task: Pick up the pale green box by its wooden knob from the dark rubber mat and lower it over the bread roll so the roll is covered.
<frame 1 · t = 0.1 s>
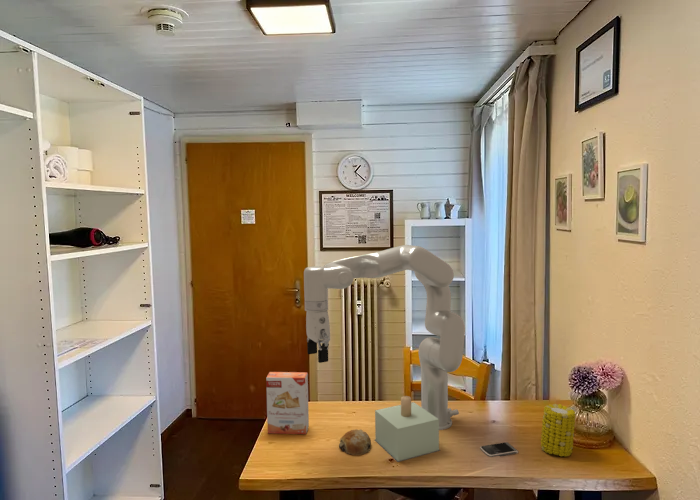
hand: (317, 357, 153), 31 cm above the table, fingers open, 9 cm apart
food: (557, 451, 153), on the table
mat: (406, 446, 157), on the table
cracker box: (288, 431, 170), on the table
bread roll: (355, 449, 156), on the table
cell phone: (498, 453, 153), on the table
pale green box: (406, 444, 157), resting on mat
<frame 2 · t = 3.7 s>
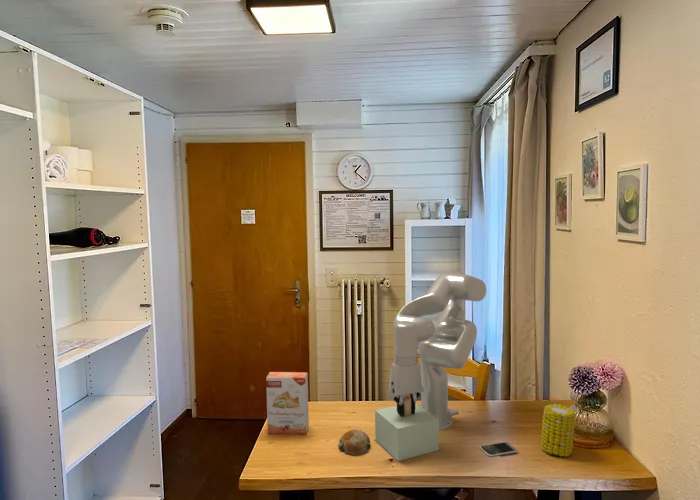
hand: (406, 413, 156), 11 cm above the table, fingers closed on pale green box, 3 cm apart
pale green box: (406, 444, 157), resting on mat, touching gripper
everything else where it was.
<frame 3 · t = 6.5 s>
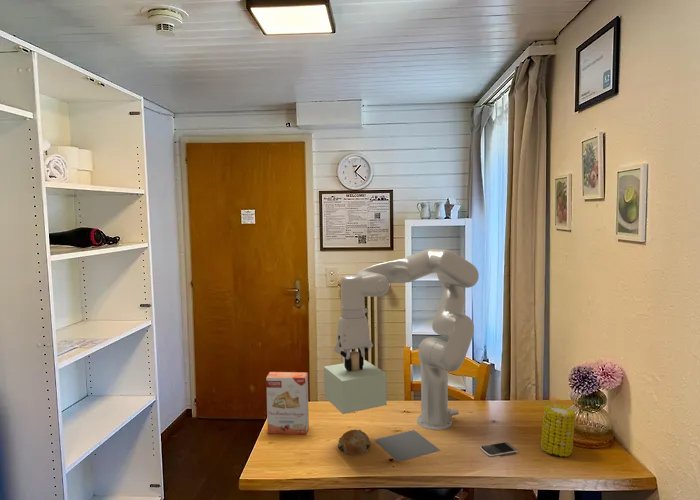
hand: (354, 368, 154), 27 cm above the table, fingers closed on pale green box, 3 cm apart
pale green box: (354, 400, 155), point 16 cm above the table, touching gripper
everything else where it was.
when the fingers open (12 cm above the table, at t = 9.5 s): pale green box drops 1 cm, on the table.
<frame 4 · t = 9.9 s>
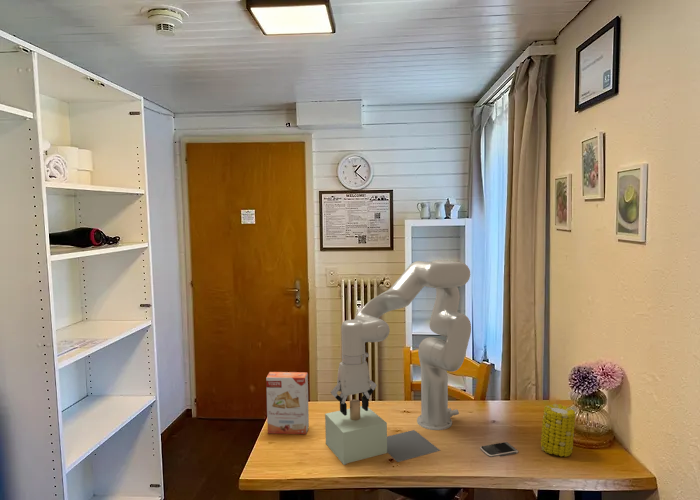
hand: (354, 411, 155), 13 cm above the table, fingers open, 7 cm apart
pale green box: (355, 448, 156), on the table
everything else where it was.
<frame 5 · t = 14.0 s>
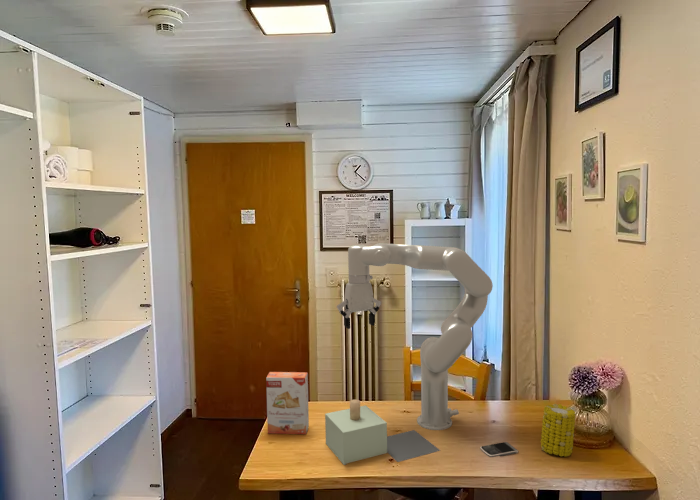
hand: (359, 326, 172), 36 cm above the table, fingers open, 9 cm apart
nothing on the table moved.
at the end: pale green box 1.2 cm from the bread roll (horizontally); pale green box on the table; pale green box tilted 0° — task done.
